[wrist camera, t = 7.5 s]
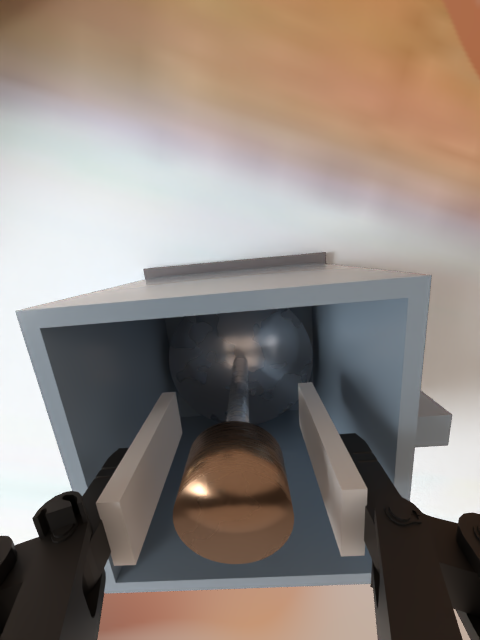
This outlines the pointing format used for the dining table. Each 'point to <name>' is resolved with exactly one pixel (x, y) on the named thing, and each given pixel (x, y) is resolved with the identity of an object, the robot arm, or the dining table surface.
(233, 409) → the plunger
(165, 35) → the dining table surface
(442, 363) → the dining table surface
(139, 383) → the grey open bin
